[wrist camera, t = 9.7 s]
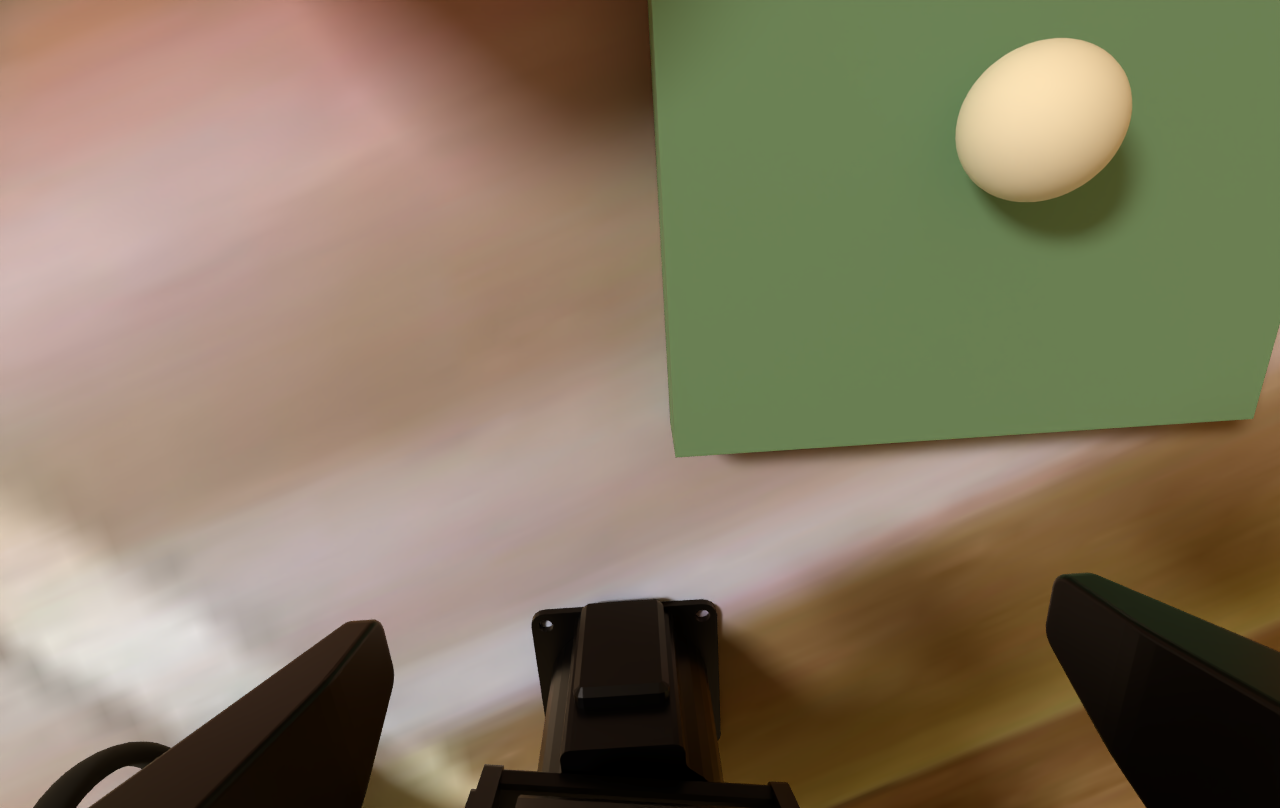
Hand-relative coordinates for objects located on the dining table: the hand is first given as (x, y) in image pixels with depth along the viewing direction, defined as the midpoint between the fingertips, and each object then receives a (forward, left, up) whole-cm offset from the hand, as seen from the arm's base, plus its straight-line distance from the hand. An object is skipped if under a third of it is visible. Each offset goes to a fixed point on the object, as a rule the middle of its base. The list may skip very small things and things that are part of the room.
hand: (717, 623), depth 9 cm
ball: (+6, -8, -8) cm, 13 cm away
